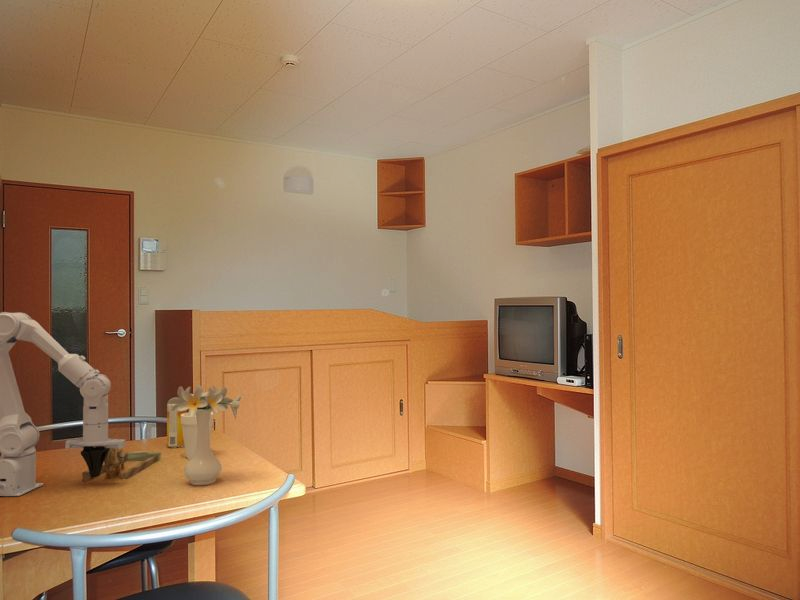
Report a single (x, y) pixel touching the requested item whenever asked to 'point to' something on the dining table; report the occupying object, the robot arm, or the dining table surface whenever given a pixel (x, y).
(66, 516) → the dining table surface
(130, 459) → the flange channel
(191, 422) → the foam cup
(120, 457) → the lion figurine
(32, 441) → the robot arm
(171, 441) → the yellow box
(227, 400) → the flower vase
